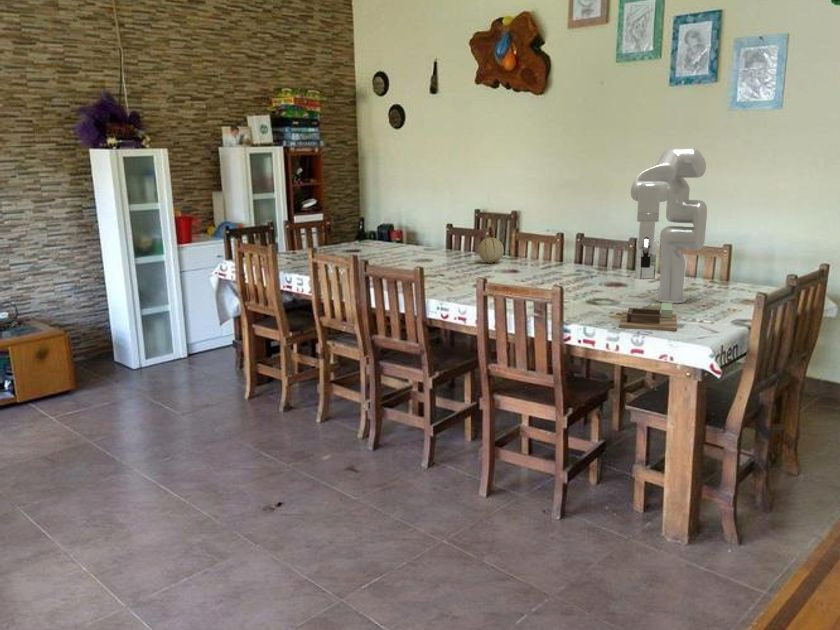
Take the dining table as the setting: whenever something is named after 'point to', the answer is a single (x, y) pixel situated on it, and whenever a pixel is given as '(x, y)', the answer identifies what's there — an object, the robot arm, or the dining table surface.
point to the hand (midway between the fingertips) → (645, 265)
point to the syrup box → (650, 272)
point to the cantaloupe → (491, 250)
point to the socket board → (647, 320)
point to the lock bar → (666, 310)
